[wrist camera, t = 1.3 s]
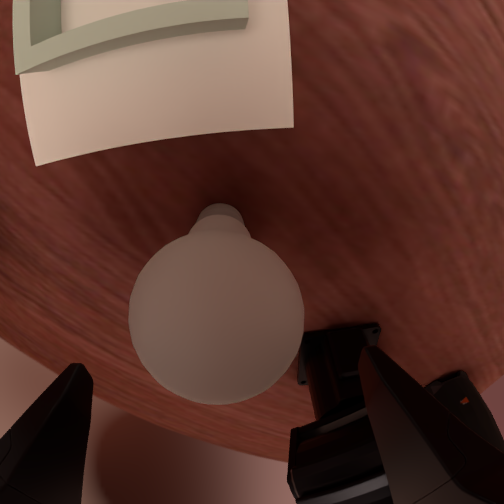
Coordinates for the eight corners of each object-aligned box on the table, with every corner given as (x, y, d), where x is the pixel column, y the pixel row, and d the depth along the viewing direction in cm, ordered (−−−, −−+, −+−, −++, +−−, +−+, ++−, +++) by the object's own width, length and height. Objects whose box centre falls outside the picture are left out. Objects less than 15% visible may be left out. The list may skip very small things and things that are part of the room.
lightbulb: (186, 149, 15) (122, 278, 6) (293, 190, 17) (364, 345, 8) (154, 244, 18) (103, 409, 9) (249, 275, 20) (265, 441, 10)
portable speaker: (433, 370, 29) (495, 519, 12) (480, 364, 30) (539, 484, 13) (396, 412, 33) (438, 543, 16) (445, 403, 34) (489, 514, 18)
